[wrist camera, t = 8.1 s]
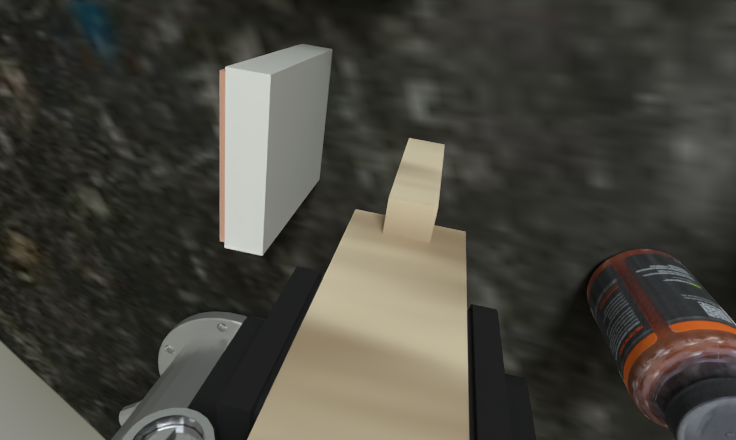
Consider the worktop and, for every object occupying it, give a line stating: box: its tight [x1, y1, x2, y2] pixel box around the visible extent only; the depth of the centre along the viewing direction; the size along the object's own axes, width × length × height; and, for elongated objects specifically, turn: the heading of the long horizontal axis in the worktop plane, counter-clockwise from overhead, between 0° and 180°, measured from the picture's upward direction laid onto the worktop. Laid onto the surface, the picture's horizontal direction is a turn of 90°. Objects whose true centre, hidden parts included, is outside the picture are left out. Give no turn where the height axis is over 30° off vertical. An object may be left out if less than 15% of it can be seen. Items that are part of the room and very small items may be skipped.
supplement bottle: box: [587, 249, 736, 440], centre depth 25 cm, size 6×6×11 cm
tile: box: [220, 44, 333, 256], centre depth 24 cm, size 8×2×10 cm, turn 172°
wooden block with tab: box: [247, 138, 469, 440], centre depth 11 cm, size 5×3×14 cm, turn 172°
